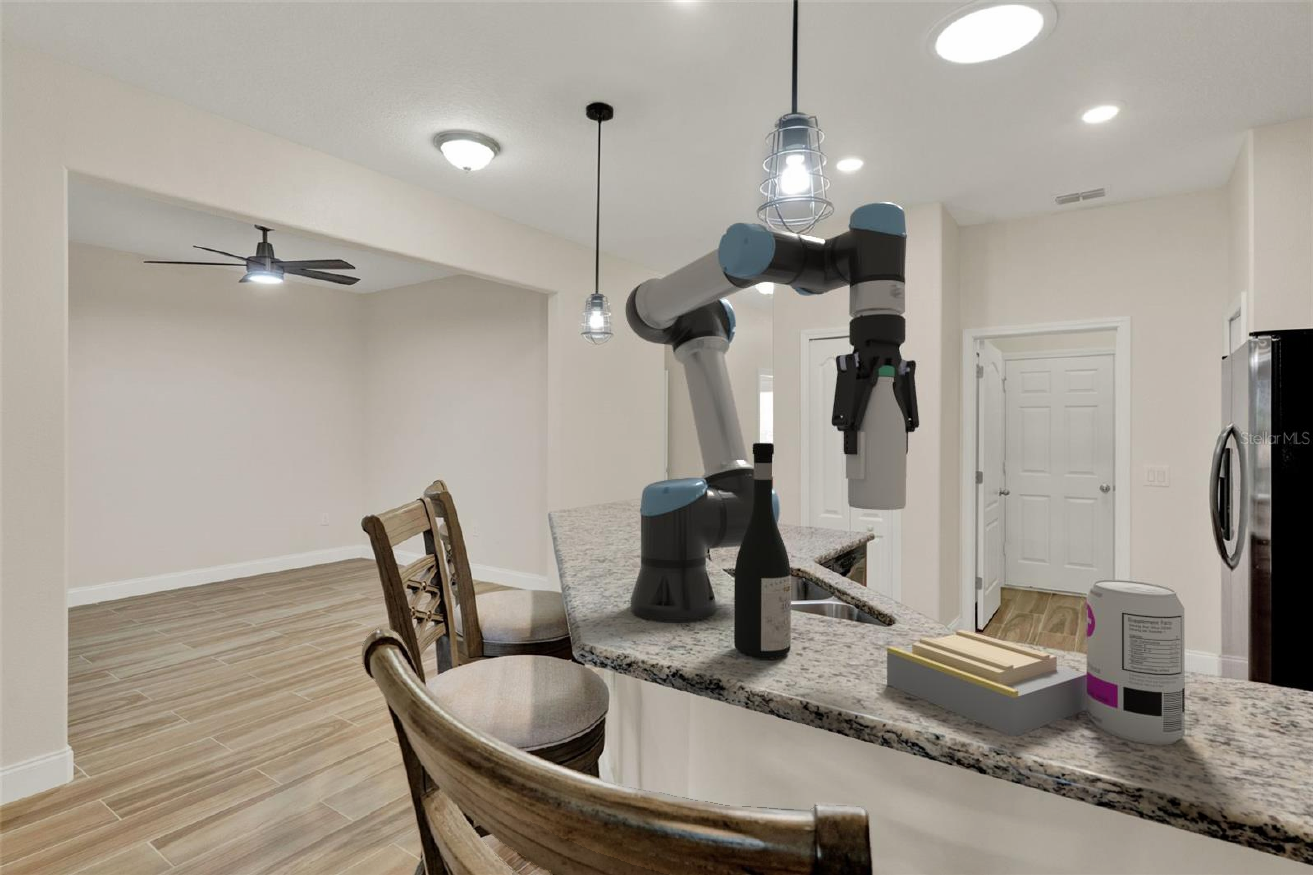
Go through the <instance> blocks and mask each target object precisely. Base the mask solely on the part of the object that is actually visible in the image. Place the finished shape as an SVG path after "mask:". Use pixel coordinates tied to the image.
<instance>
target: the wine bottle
mask: <svg viewBox="0 0 1313 875" xmlns="http://www.w3.org/2000/svg"><path fill="white" fill-rule="evenodd" d="M774 452H775V444H774V443H773V442H754V443H753V444H752V455H753V467H754V505H753V511H752V516H751V519H750V523H749V525H748V528H747V531H746V533H745V536H744V538H743V541H742V543H741V546H739V549H738V552H737V555H736V556H737V557H736V561H735V568H734V586H733V587H734V595H733V596H734V597H733V598H734V600H733V602H734V605H733V606H734V608H733V609H734V610H733V611H734V614H733V616H734V618H733V620H734V621H733V623H734V624H733V630H734V631H733V632H734V633H733V634H734V635H733V637H734V638H733V639H734V641H733V643H734V647H735V649H736V650H737V651H738V653H739V654H741V655H743V656H746V657H749V658H752V659H758V660H772V659H773V660H775V659H779V658H782V657H784V656H786V655H787V654H788V653H789V652H791V644H792V643H791V642H792V640H791V639H792V635H791V633H792V626H791V624H792V620H791V619H792V617H791V615H792V572H791V571H792V570H791V566H790V565H791V564H790V560H789V556H788V551H787V548H786V545H785V543H784V539H783V538H782V535H781V532H780V530H779V527H778V524H776V520H775V517H774V512H773V505H772V489H773V469H774V466H773V463H774V462H773V461H774V460H773V458H774V455H775V453H774Z"/></svg>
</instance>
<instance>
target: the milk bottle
mask: <svg viewBox="0 0 1313 875" xmlns="http://www.w3.org/2000/svg"><path fill="white" fill-rule="evenodd" d="M879 376H892V377H878V381H877V384H876V385H875V386H874V387H873V388H872V391H871V394H870V398H869V401H868V404H867V408H866V411H865V414H864V417H863V421H862V424H861V427H860V430H859V431H858V432H865V479H847V500H848V501H847V503H848V505H849V507H851V508H856V509H862V510H876V511H893V510H896V511H897V510H902V509H903V510H904V509H905V507H906V502H907V454H906V431H905V421H904V417H903V414H902V412H901V409H900V407H899V405H898V403H897V401H896V398H895V395H894V392H893V387H892V384H893V382H894V378H893V377H894V367H893V366H886V365H884V366H882V367H881V368H879Z"/></svg>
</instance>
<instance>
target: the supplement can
mask: <svg viewBox="0 0 1313 875" xmlns="http://www.w3.org/2000/svg"><path fill="white" fill-rule="evenodd" d="M1185 650H1186V649H1185V607H1184V605H1183V603H1182V602H1181V601H1180V599H1179V597H1178V596H1177V591H1176V590H1175V589H1173V588H1170V587H1168V586H1164V585H1159V584H1154V583H1149V582H1143V581H1135V580H1125V579H1124V580H1122V579H1099V580H1094V581H1093V585H1092V586H1091V587H1090V589H1089V591H1088V592H1087V594H1086V674H1087V710H1086V715H1087V717H1088V718H1089V719H1090V720H1091V721H1092V722H1093V724H1094V725H1095V726H1096V727H1097V728H1098V729H1100V730H1102V731H1103V732H1105V733H1107V734H1110V735H1113V736H1115V737H1117V738H1120V739H1124V740H1127V741H1131V742H1135V743H1139V744H1146V745H1152V746H1153V745H1154V746H1155V745H1156V746H1158V745H1159V746H1168V745H1171V744H1175V743H1176V742H1177V741H1179V740H1181V739H1182V738H1183V737H1185V734H1186V732H1185V731H1186V730H1185V728H1186V727H1185V726H1186V724H1185V722H1186V720H1185V719H1186V715H1185V714H1186V713H1185V712H1186V711H1185V710H1186V708H1185V707H1186V705H1185V704H1186V701H1185V700H1186V699H1185V698H1186V696H1185V695H1186V694H1185V692H1186V691H1185V684H1186V683H1185V682H1186V681H1185V679H1186V678H1185V670H1186V669H1185V665H1186V664H1185V654H1186V653H1185Z"/></svg>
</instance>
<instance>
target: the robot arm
mask: <svg viewBox="0 0 1313 875" xmlns="http://www.w3.org/2000/svg"><path fill="white" fill-rule="evenodd" d="M905 215H906V213H905V211H904V209H903V208H902V207H901V206H900V205H898V204H894V203H892V202H873V203H869V204H868V203H867V204H864V205H861V206H859V207H857V208H855V209H854V211H853V212H852V213H851V214H850V216H849V224H848V225H847V226H848V229H849V230H848V231H845V232H843V233H841V234H839V235H836V236H833V237H831V238H828V239H827V238H825V239H822V238H818V237H814V236H809V235H805V234H800V233H797V232H790V231H785V230H782V229H777V228H773V227H769V226H765V225H762V224H760V223H747V222H746V223H745V222H736V223H733V224H731V225H730V226H729V227H727V229H726V233H725V234H723V235H722V236H721V239H720V242H719V245H718V248H716V249H714V250H712V251H710V252H709V253H706V254H705V255H703V256H701V257H699V258H697V259H696V260H693V261H692V262H690V263H688V264H686V265H684V266H683V267H681V268H679V269H677V270H676V271H673V272H672V273H670V274H667V275H666V276H664V277H662V278H659V277H655V278H649V279H647V280H645V281H643V282H642V283H640V284H638V285H637V286H636V287H634V288H633V290H632V291H630V293H629V295H628V297H627V299H626V303H625V307H624V308H625V317H626V321H627V323H628V325H629V327H630V329H631V330H632V331H633V333H635V334H636V335H637V336H638V337H639V338H641V340H644V341H646V342H650V343H652V344H660V345H668V346H671V347H672V351H673V357H674V359H675V361H677V362H678V363H680V364H681V365H683V370H684V375H685V380H686V384H687V389H688V394H689V398H690V399H689V400H690V404H691V409H692V414H693V418H694V425H695V429H696V433H697V440H698V444H699V449H700V454H701V459H702V464H703V470H704V473H703V474H702V476H701V477H683V478H682V477H681V478H671V479H665V480H659V481H656V482H652V483H649V484H648V485H646V486H645V487H644V489H643V490H642V493H641V501H640V502H641V503H640V509H639V512H640V567H639V572H638V575H637V577H636V581H635V584H634V586H633V590H632V593H631V596H630V612H631V614H632V615H634V616H636V617H639V618H642V619H644V620H650V621H656V622H663V623H664V622H667V623H685V622H693V621H702V620H705V619H708V618H711V617H713V616H714V615H715V614H716V605H717V604H716V600H717V599H716V597H715V593H714V590H713V587H712V584H711V580H710V577H709V574H708V570H707V549H708V550H709V549H710V550H713V549H724V548H725V549H726V548H734V547H740V546H741V543H742V541H743V538H744V536H745V533H746V531H747V528H748V525H749V523H750V519H751V516H752V511H753V505H754V465H751V464H750V463H749V460H748V455H747V452H746V448H745V447H746V446H745V442H744V439H743V434H742V429H741V424H740V420H739V414H738V412H737V407H736V402H735V397H734V394H733V390H732V384H731V379H730V376H729V371H728V366H727V362H726V357H725V355H726V354H727V352H728V351H729V349H730V344H731V343H732V341H733V339H734V337H735V333H736V331H735V329H734V328H736V327H737V326H736V323H737V322H736V320H737V319H736V315H735V311H734V308H733V307H732V305H731V303H730V302H729V300H727V298H726V297H729V296H731V295H733V294H736V293H738V292H740V291H743V290H745V289H748V288H751V287H753V286H755V285H759V284H761V283H772V284H779V285H786V286H790V287H791V288H792V289H793V290H794V291H795V292H797V293H798V294H799V295H801V296H804V297H809V296H815V295H824V294H825V293H826V294H827V293H829V292H831V291H833V290H836V289H841V288H844V287H847V286H849V297H848V298H849V304H848V305H849V306H848V307H849V308H848V309H849V310H848V312H849V313H848V316H849V317H851V318H852V319H851V320H850V321H849V323H848V326H849V333H848V334H849V335H848V336H849V337H848V339H849V341H848V342H849V345H850V346H852V347H853V348H852V349H853V350H852V352H851V353H847V354H840V355H837V356H836V357H835V365H836V372H837V373H836V382H835V389H834V390H835V391H834V398H833V405H832V412H831V413H832V415H831V425H832V426H833V427H836V428H837V431H838V432H842V433H843V454H844V455H845V479H847V480H848V479H865V432H858V431H859V430H860V427H861V424H862V421H863V417H864V414H865V411H866V408H867V404H868V401H869V398H870V394H871V391H872V388H873V387H874V386H875V385H876V384H877V381H878V377H892V376H879V368H881V367H882V366H884V365H886V366H893V367H894V377H893V378H894V382H893V384H892V387H893V392H894V395H895V398H896V401H897V403H898V405H899V407H900V409H901V412H902V414H903V417H904V421H905V431H906V455H908V451H909V433H914V432H915V431H916V429H918V428H919V427H920V418H919V417H920V416H919V406H918V398H917V389H916V388H917V387H916V380H915V379H916V378H915V375H916V368H917V364H916V361H915V360H914V359H912V360H911V359H910V360H906V359H903V358H902V355H901V354H902V353H901V351H900V347H901V346H902V345H903V344H904V343H905V342H906V318H905V317H904V316H903V314H904V313H905V312H906V255H907V254H906V252H907V238H908V235H907V229H906V216H905ZM772 505H773V512H774V517H775V520H776V524H777V525H778V524H779V519H780V513H781V512H780V510H781V508H780V501H779V497H778V494H777V492H776V490H775V489H774V488H772Z"/></svg>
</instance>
